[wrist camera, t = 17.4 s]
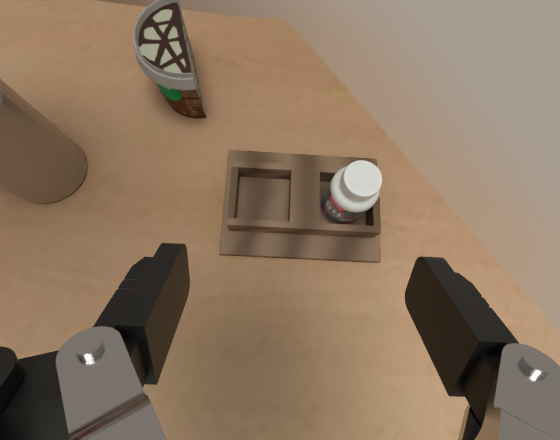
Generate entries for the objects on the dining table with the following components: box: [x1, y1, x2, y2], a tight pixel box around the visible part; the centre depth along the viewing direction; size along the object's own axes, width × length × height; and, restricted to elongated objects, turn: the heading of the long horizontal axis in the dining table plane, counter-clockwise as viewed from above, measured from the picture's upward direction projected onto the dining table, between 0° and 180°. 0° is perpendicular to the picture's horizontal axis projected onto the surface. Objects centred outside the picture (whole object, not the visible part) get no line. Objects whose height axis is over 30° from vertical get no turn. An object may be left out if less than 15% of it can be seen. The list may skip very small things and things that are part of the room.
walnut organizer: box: [220, 150, 381, 263], centre depth 40 cm, size 20×14×4 cm
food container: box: [133, 0, 206, 118], centre depth 41 cm, size 12×6×10 cm, turn 13°
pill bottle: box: [321, 160, 382, 225], centre depth 36 cm, size 5×5×10 cm
